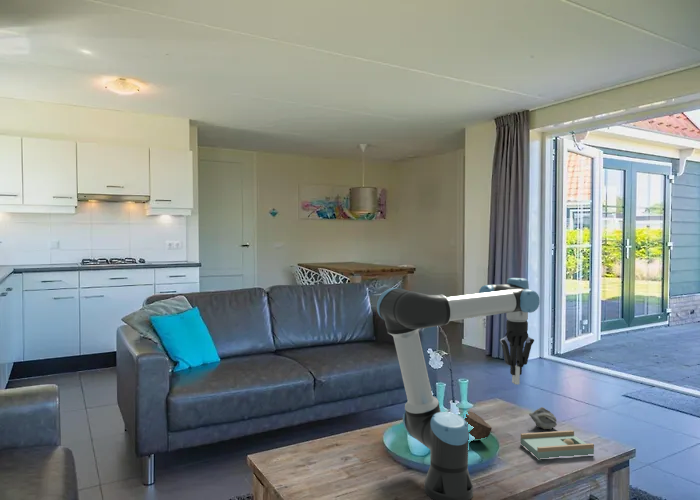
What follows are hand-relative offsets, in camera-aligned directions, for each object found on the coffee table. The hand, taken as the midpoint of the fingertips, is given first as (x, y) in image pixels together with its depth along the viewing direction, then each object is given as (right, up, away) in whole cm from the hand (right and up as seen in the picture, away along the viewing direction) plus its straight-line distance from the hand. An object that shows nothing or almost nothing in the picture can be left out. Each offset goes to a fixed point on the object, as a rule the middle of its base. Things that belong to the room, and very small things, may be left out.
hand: (515, 383), depth 183 cm
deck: (+17, -26, +4) cm, 31 cm away
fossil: (+20, -26, +26) cm, 42 cm away
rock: (-12, -26, +13) cm, 32 cm away
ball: (+22, -24, +5) cm, 33 cm away
